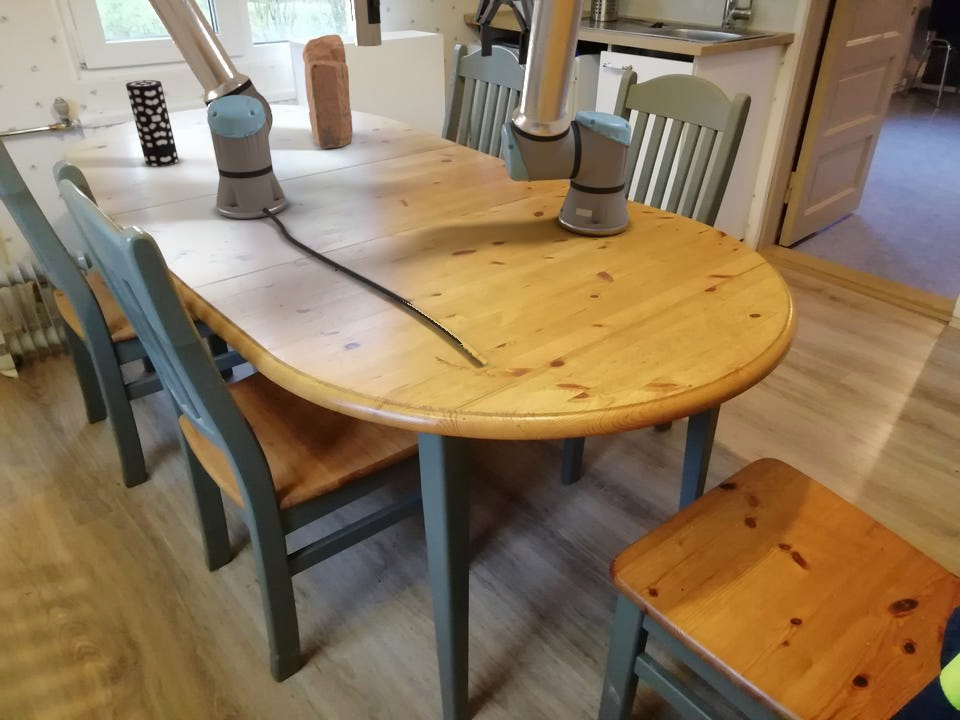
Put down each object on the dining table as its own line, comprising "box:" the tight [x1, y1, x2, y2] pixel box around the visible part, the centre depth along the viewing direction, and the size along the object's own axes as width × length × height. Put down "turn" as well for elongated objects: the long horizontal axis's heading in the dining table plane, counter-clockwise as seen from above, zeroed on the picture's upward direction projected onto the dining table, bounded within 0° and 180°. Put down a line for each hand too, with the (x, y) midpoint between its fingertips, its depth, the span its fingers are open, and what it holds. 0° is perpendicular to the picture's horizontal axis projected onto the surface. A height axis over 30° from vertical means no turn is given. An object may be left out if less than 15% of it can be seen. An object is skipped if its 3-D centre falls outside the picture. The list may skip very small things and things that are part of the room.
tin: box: [352, 0, 383, 47], centre depth 154 cm, size 6×6×12 cm
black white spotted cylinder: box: [125, 79, 179, 167], centre depth 181 cm, size 8×8×20 cm
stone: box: [302, 34, 354, 149], centre depth 199 cm, size 22×11×28 cm, turn 18°
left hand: (366, 21), depth 154 cm, fingers closed on tin, 6 cm apart
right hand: (504, 60), depth 165 cm, fingers open, 13 cm apart
